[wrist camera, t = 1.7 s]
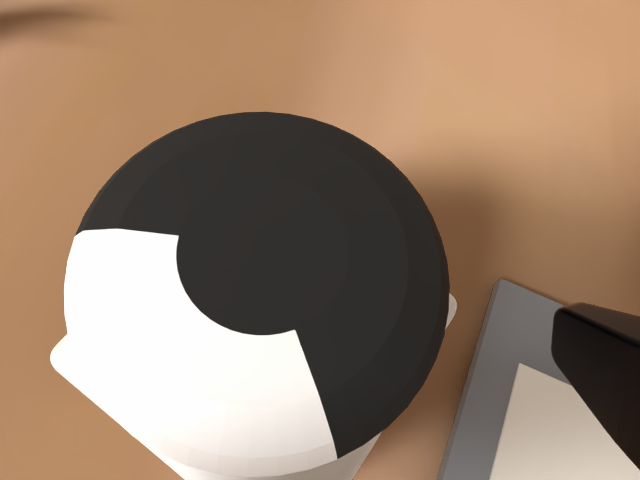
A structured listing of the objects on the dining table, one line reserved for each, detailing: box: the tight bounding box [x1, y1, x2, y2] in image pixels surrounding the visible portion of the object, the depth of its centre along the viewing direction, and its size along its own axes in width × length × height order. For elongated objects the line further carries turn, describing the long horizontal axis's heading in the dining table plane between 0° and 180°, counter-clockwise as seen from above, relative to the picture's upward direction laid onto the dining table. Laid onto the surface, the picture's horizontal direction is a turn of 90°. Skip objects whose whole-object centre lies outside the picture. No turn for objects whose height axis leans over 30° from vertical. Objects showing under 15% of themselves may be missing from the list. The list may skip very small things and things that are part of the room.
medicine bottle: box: [50, 112, 457, 480], centre depth 13 cm, size 7×7×12 cm
